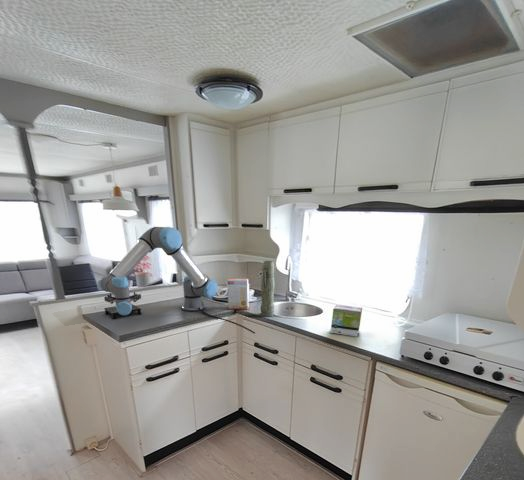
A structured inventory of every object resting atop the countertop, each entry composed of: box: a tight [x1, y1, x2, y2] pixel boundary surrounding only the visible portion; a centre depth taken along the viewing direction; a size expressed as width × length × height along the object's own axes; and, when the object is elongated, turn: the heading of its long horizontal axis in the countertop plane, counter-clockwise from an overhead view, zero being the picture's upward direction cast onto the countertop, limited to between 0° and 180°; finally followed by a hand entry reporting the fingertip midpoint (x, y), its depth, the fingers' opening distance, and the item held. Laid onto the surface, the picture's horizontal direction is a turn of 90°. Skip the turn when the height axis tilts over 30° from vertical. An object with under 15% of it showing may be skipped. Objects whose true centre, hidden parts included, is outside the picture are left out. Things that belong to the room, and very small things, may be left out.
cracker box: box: [227, 278, 250, 311], centre depth 228 cm, size 14×6×21 cm, turn 84°
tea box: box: [330, 304, 363, 337], centre depth 183 cm, size 15×10×15 cm, turn 69°
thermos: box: [260, 260, 276, 318], centre depth 211 cm, size 9×12×35 cm
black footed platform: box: [103, 303, 142, 320], centre depth 214 cm, size 16×18×4 cm
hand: (122, 294), depth 200 cm, fingers open, 13 cm apart
